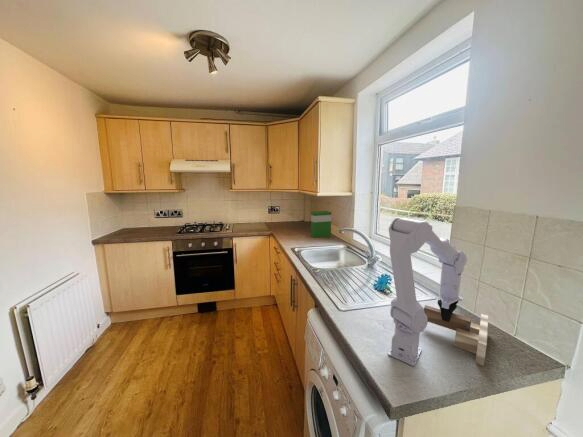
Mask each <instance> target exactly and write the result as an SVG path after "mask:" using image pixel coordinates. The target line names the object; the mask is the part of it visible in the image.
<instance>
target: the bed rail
mask: <svg viewBox="0 0 583 437" xmlns="http://www.w3.org/2000/svg"><path fill="white" fill-rule="evenodd" d="M423 308H424V312H425V314H426V316H427V319H428V323H430V324H434V325H437V326H440V327H443V328H446V329H449V330H452V331H455V332H456V330H457V328H459V329H462V330H465V331H468V332H470V326H471V323H472V318H470V317H467V316H464V315H461V314H456V313H454V312H453V313H452V315H451V319H450V321H449V322H446V321H443V320H442V317H441V310H440V308H436V307H434V306H430V305H427V304H426V305H424V307H423Z"/></svg>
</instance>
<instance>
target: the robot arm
mask: <svg viewBox="0 0 583 437" xmlns="http://www.w3.org/2000/svg"><path fill="white" fill-rule="evenodd" d="M388 234H389V241H390V244H389V255H390V261H391V262H390V263H391V268H392V269H391V270H392V274H393V275H392V276H393V280H394V288H395V295H396V297H394V298H393V299H392V300H391V302H390V305H391V306H390V317H391V318H392V319H393V323H394V324H395V325H394V334H393V336H392V338H391V347H390V349H389V350H388V352H387V355H388V356H390V357H391V358H394V359H397V360H398V361H401V362H404V363H407V364H408V365H410V366H413V367H415V366H416V365H417V362H418V360H419V357H420V354H421V353H422V350H423V349H422V348H421V347H419V345H420V337H421V336H420V335H421V334H420V333H422V332H424V331H425V330H426V328H427V326H428V323H429V322H428V319H427V316H426V314H425V312H424V307H423V306H422V304H421V303H420V302H419V300H417V295H416V288H415V280H414V279H415V278H414V271H413V264H412V254H414V253H415V254H416V253H417V252H418V251H419V250H420V249H421V248H422V247H423V246H424V244H427V245H428V246H430V248H429V249H430V251H431V252H432V254H434V255H435V256H436V257H437V258H438V262H439V263H441V273H440V281H439V282H440V284H439V292H438V296H439V299H438V300H437V306H438V307H439V309H440V310H441V317H442V320H443V321H446V322H449V321H450V319H451V315H452V313H454V311H455V310H456V309H457V307H458V305H457V304H458V303H459V301H460V302H462V301H463V300H464V298H463V296H460V290H461V289H460V288H461V279H462V273H464V270H465V266H466V265H467V263H468V262H467V261H468V259H467V258H468V257H467V255H466V254H465V253H464V252H463V251H460V250H458V249H457V248H456V246H455V245H453V244H451V243H450V240H449V239H448V238H440V237H439V236H438V234H436V233H435V232H434V230H433V225H431V224H429V222H428V221H423V220H422V221H421V220H415V219H410V218H405V217H402V216H401V217H400V216H398V217H396V218H394V219H393V220H392V221H391V224H390V225H389V227H388Z"/></svg>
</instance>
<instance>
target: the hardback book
mask: <svg viewBox="0 0 583 437" xmlns="http://www.w3.org/2000/svg"><path fill="white" fill-rule="evenodd" d="M310 237H312V238H314V239H320V238H328V237H332V211H329V210H320V211H319V210H317V211H310Z"/></svg>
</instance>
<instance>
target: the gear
mask: <svg viewBox="0 0 583 437" xmlns="http://www.w3.org/2000/svg"><path fill="white" fill-rule="evenodd" d="M392 280H393V279H392V277H391V275H390V274H388V273H384V274H383V273H381V274H380V276H379V275H378V276H377V279H374V283H373V286H374V289H375V290H377V291H378V292H380V291H382V292H383V291H385V290H387V291H389V292H390V293H392V294H393V290H391V287H390V286H391V285H392Z"/></svg>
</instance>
